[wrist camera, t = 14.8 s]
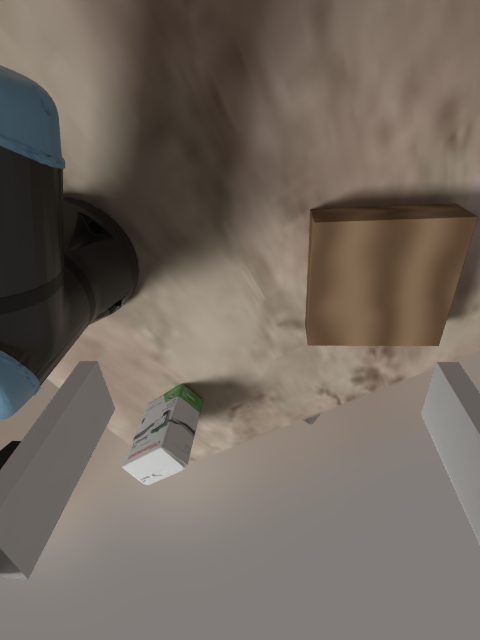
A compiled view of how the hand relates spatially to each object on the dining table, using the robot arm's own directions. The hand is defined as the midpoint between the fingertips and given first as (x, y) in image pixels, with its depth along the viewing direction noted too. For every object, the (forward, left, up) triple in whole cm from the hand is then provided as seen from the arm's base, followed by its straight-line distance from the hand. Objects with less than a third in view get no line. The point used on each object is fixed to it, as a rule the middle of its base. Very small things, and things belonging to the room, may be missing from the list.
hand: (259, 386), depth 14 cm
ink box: (-16, -31, -29) cm, 45 cm away
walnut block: (+12, -9, -29) cm, 33 cm away
